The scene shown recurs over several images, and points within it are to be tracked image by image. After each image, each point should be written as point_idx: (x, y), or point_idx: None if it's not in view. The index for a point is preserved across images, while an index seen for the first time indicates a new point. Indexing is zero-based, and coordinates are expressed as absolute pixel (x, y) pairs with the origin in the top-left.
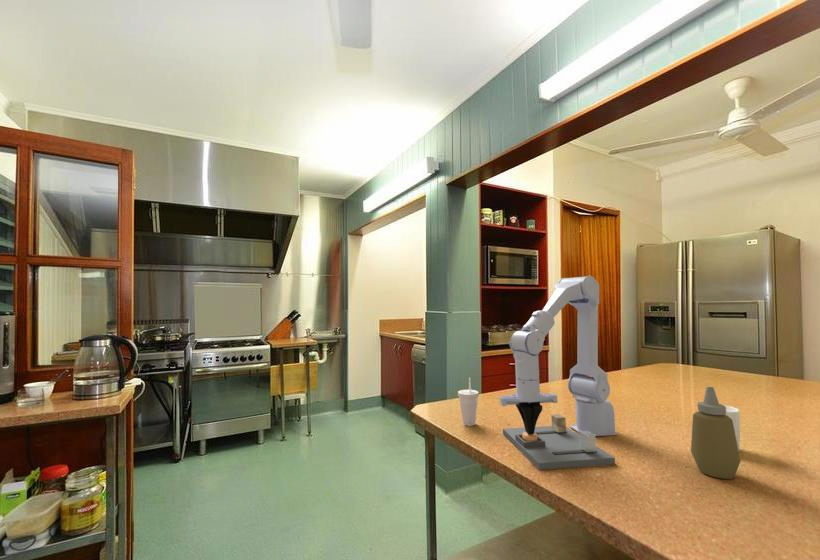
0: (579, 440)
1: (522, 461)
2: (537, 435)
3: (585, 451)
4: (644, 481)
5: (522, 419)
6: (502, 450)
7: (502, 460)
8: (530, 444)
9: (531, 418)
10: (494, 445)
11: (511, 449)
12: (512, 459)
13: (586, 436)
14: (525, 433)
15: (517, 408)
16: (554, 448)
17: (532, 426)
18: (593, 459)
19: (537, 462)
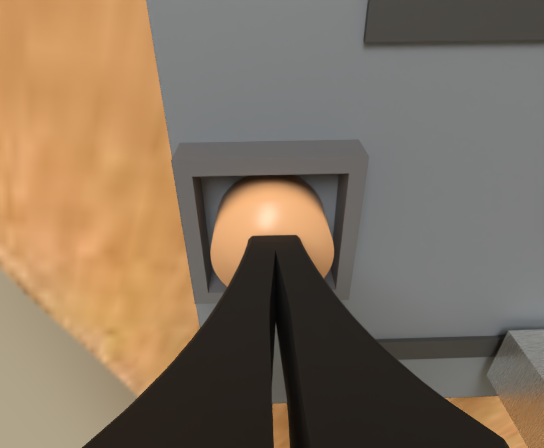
0: (529, 372)
1: (167, 316)
2: (359, 203)
3: (489, 370)
4: (512, 442)
5: (219, 301)
6: (74, 188)
7: (63, 299)
8: None
9: (290, 409)
10: (14, 94)
11: (140, 181)
12: (120, 295)
13: None
14: (242, 240)
15: (122, 415)
16: (378, 301)
17: (281, 357)
18: (467, 395)
19: None
